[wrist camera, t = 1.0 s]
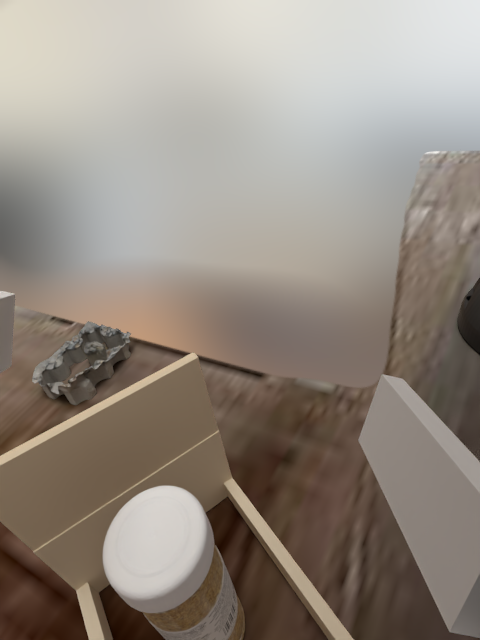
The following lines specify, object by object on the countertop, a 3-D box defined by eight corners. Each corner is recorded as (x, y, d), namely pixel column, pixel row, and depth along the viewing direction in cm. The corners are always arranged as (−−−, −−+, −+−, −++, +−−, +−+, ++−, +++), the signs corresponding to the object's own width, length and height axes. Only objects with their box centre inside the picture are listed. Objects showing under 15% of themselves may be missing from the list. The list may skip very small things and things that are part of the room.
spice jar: (198, 574, 26) (143, 468, 18) (257, 604, 24) (225, 501, 16) (162, 652, 23) (75, 566, 15) (227, 694, 21) (167, 621, 13)
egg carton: (82, 412, 40) (67, 387, 38) (37, 396, 44) (20, 371, 41) (141, 349, 48) (131, 325, 45) (99, 339, 51) (87, 315, 48)
